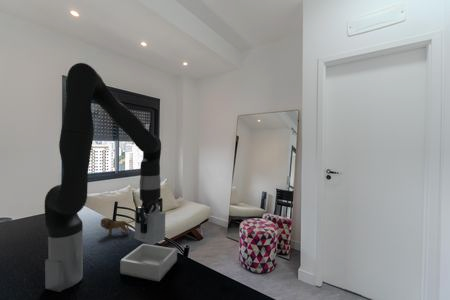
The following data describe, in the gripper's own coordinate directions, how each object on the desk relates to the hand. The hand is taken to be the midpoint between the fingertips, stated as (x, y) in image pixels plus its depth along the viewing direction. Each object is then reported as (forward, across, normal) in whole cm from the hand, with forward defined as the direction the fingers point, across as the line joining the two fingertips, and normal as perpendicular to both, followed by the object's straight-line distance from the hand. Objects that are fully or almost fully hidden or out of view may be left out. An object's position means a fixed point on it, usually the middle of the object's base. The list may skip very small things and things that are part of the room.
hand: (150, 228), depth 79 cm
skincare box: (+4, 0, 0) cm, 4 cm away
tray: (+15, 0, 0) cm, 15 cm away
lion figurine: (+15, +20, +34) cm, 42 cm away
